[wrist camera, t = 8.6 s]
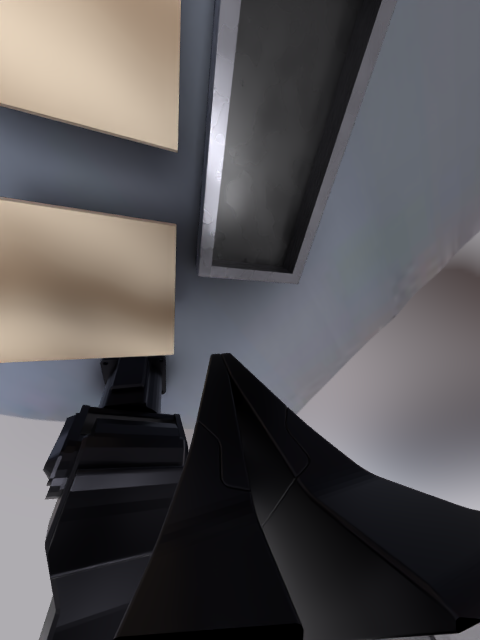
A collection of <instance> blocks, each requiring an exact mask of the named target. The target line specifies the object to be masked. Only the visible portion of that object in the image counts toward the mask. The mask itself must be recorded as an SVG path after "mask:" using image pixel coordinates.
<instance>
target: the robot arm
mask: <svg viewBox="0 0 480 640" xmlns="http://www.w3.org/2000/svg"><path fill="white" fill-rule="evenodd" d="M160 359H162V360H160ZM106 362H108V363H106ZM100 364H101V368H102V373H103V377H104V381H105V389H104V392H103V395H102V398H101V401H100V405H99V408H97V407H90V406H88V405H83V406H82V409H81V411H80V413H76V415H74V416H71V417H69V418H67V420H66V422H65V425H64V427H63V429H62V431H61V433H60V436H59V438H58V440H57V442H56V444H55V446H54V448H53V450H52V452H51V454H50V456H49V458H48V460H47V462H46V464H45V466H44V469H43V470H44V472H45V474H46V475H47V477H48V479H49V481H48V483H47V486H50V488H49V491H48V494H47V496H46V498H45V499H55V498H58V500H57V502H56V505H55V508H54V511H53V513H52V516H51V518H50V521H49V525H48V530H47V536H46V541H45V550H46V556H47V562H48V567H49V574H50V580H51V586H52V591H53V597H52V601H51V604H50V607H49V610H48V613H47V616H46V619H45V622H44V626H43V629H42V632H41V635H40V638H39V640H480V511H477V510H472V509H469V508H465V507H462V506H459V505H456V504H454V503H451V502H448V501H445V500H443V499H440V498H437V497H434V496H431V495H428V494H426V493H423V492H420V491H417V490H414V489H412V488H409V487H406V486H403V485H401V484H398V483H395V482H392V481H390V480H386V479H384V478H381V477H379V476H376V475H374V474H372V473H370V472H368V471H367V470H365V469H363V468H362V467H360V466H359V465H357V464H356V463H355V462H353V461H352V460H351V459H350V458H348V457H347V456H346V455H344V454H343V453H342V452H341V451H339V450H338V449H337V448H336V447H334V446H333V445H332V444H331V443H329V442H328V441H326V440H325V439H324V438H323V437H322V436H320V435H319V434H318V433H317V432H315V431H314V430H313V429H312V428H311V427H309V426H308V425H307V424H306V423H305V422H304V421H303V420H301V419H300V418H299V417H298V416H297V415H296V414H295V413H294V412H293V411H292V410H290V409H289V408H288V407H287V406H286V405H285V404H284V403H283V402H282V401H281V400H280V399H279V398H278V397H276V396H275V395H274V394H273V393H272V392H271V391H270V390H269V389H268V388H267V387H266V386H265V385H264V384H263V383H262V382H260V381H259V380H258V379H257V378H256V377H255V376H254V375H253V374H252V373H251V372H250V371H249V370H248V369H247V368H246V367H244V366H243V365H242V364H241V363H240V362H239V361H238V360H237V359H236V358H235V357H234V356H233V355H232V354H230V353H222V354H211V357H210V361H209V366H208V370H207V375H206V379H205V384H204V389H203V393H202V398H201V402H200V407H199V411H198V416H197V421H196V425H195V429H194V434H193V438H192V442H191V445H190V449H189V452H188V445H187V441H186V437H185V433H184V429H183V426H182V422H181V418H180V415H179V414H174V415H170V414H160V412H161V394H164V393H165V392H166V358H165V356H164V355H157V356H135V357H113V358H103V359H102V360H101V363H100Z"/></svg>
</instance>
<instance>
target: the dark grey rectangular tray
mask: <svg viewBox="0 0 480 640" xmlns="http://www.w3.org/2000/svg"><path fill="white" fill-rule="evenodd" d="M396 3H397V0H215V5H214V19H213V33H212V47H211V61H210V75H209V88H208V102H207V116H206V130H205V144H204V158H203V172H202V186H201V200H200V214H199V228H198V242H197V256H196V270H197V273H198V276H199V277H212V278H225V279H238V280H251V281H264V282H277V283H290V284H298V283H299V280H300V277H301V274H302V271H303V268H304V266H305V263H306V260H307V257H308V254H309V251H310V248H311V246H312V243H313V240H314V237H315V234H316V231H317V228H318V226H319V223H320V220H321V217H322V214H323V211H324V208H325V206H326V203H327V200H328V197H329V194H330V191H331V188H332V186H333V183H334V180H335V177H336V174H337V171H338V169H339V166H340V163H341V160H342V157H343V154H344V151H345V149H346V146H347V143H348V140H349V137H350V134H351V131H352V129H353V126H354V123H355V120H356V117H357V114H358V111H359V109H360V106H361V103H362V100H363V97H364V94H365V91H366V89H367V86H368V83H369V80H370V77H371V74H372V72H373V69H374V66H375V63H376V60H377V57H378V54H379V52H380V49H381V46H382V43H383V40H384V37H385V34H386V32H387V29H388V26H389V23H390V20H391V17H392V14H393V12H394V9H395V6H396Z"/></svg>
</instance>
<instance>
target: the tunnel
mask: <svg viewBox="0 0 480 640" xmlns="http://www.w3.org/2000/svg"><path fill="white" fill-rule="evenodd" d="M180 13H181V0H0V106H3V107H7V108H10V109H14V110H18V111H22V112H25V113H29V114H33V115H37V116H40V117H44V118H48V119H52V120H56V121H59V122H63V123H67V124H71V125H74V126H78V127H82V128H86V129H90V130H93V131H97V132H101V133H105V134H108V135H112V136H116V137H120V138H123V139H127V140H131V141H135V142H139V143H142V144H146V145H150V146H154V147H157V148H161V149H165V150H169V151H172V152H176V153H177V152H178V114H179V64H180ZM175 266H176V224H173V223H167V222H160V221H154V220H147V219H141V218H134V217H128V216H122V215H115V214H109V213H102V212H96V211H89V210H83V209H76V208H70V207H64V206H57V205H51V204H44V203H38V202H31V201H25V200H18V199H12V198H6V197H0V363H5V362H27V361H48V360H70V359H92V358H113V357H135V356H157V355H174V316H175Z"/></svg>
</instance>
